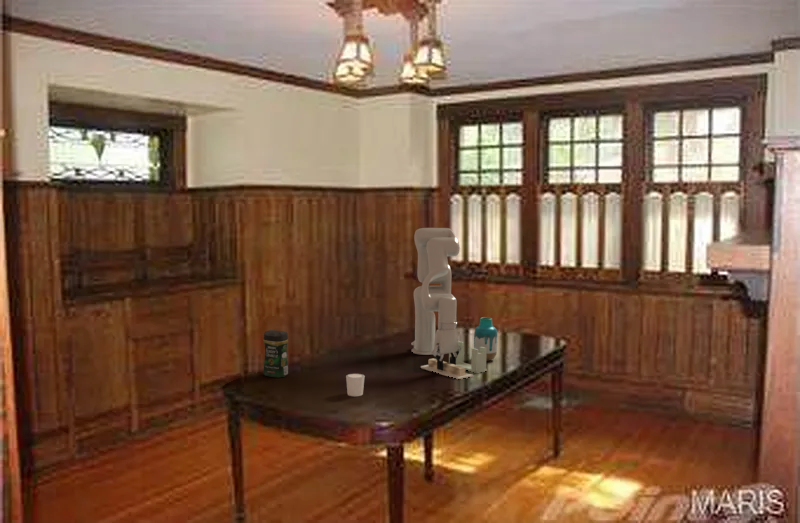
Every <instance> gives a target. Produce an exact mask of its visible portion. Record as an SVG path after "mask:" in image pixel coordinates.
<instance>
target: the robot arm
mask: <svg viewBox="0 0 800 523" xmlns="http://www.w3.org/2000/svg"><path fill="white" fill-rule="evenodd" d="M413 237H414V245H415V248H416V250H417V273H416V274H417V280H418V281H419V282H420V283H422V285H421V286H417V287H416V288H415V289H414V290H413V300H414V314H415V317H414V318H415V319H414V322H415V323H414V340H413V341H412V342H411V344H410V345H411V346H413V348H412V349H411V353H412V352H413V353H412V354H414V355H423V356H429V355H430V356H433V358H434V359H436V360H437V369H439V370H443V361H444V360H443V358H444V355H447V354H448V355H449V353H450V355H451V357H450V363H451V364H454V365H456V358H457V355H458V354H459V352H460V350H461V347H460V346H459V345H458V341H459V334H458V329H457V326H458V322H457V305H458V304H457V303H458V302H457V298H456V297H455V296H454V295H453V294H452V269H451V266H450V265H449V260H448V257H458V255H459V254H460V249H461V248H460V242H459V239H458V237H457V235H456V234H455V233H454V231H453V229H451V228H449V227H422V228H418V229H416V230H415V232H414V236H413ZM430 284H440V285H430ZM435 312H438V313H437V314H438V316H437V317H438V319H437V329H436V314H435Z"/></svg>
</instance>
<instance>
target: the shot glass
mask: <svg viewBox="0 0 800 523" xmlns="http://www.w3.org/2000/svg"><path fill="white" fill-rule="evenodd" d="M365 377H366V376H365V375H364V374H363V373H362V374H361V373H349V374H347V375H345V378H346V379H345V381H346V389H347V390H346V392H347V396H349V397H361V396H363V395H364V388H365V387H364V385H365Z"/></svg>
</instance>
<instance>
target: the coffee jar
mask: <svg viewBox="0 0 800 523" xmlns="http://www.w3.org/2000/svg"><path fill="white" fill-rule="evenodd" d="M262 341H263V345H264V361H263V363H264V364H263V375H264V376H266V377H270V378H277V379H278V378H284V377H286V376H288V374H289V362H288V353H287V352H288V350H287V349H288V343H289V336H288V333H287V331H283V330H282V331H281V330H275V329H270V330H266V331H265V332H264V333H263V340H262Z"/></svg>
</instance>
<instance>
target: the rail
mask: <svg viewBox="0 0 800 523" xmlns="http://www.w3.org/2000/svg"><path fill="white" fill-rule="evenodd" d="M442 361H443V371H446V372H449V373H452V374H456V375H459V376H462V375H465V373H466V370H465V367H461V366H458V365H454V364H451V363H449V361H448V362H447V361H444V360H442ZM427 365H428V366H430V367H433V368H436V369H437V360H436V358H435V357H433V358H429V359H428V364H427Z"/></svg>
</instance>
